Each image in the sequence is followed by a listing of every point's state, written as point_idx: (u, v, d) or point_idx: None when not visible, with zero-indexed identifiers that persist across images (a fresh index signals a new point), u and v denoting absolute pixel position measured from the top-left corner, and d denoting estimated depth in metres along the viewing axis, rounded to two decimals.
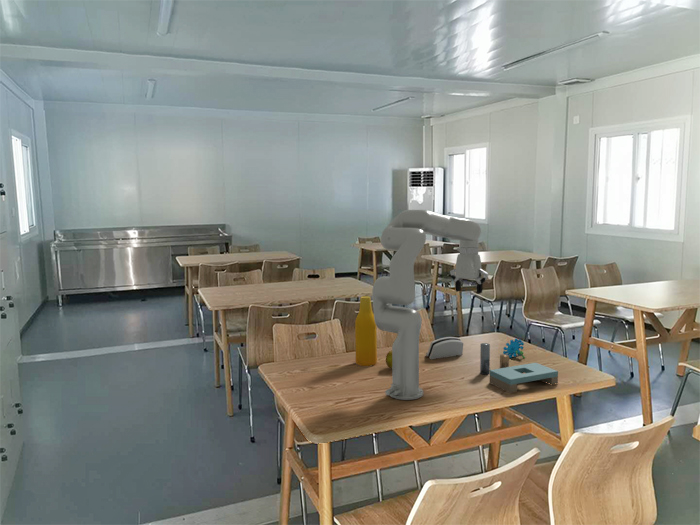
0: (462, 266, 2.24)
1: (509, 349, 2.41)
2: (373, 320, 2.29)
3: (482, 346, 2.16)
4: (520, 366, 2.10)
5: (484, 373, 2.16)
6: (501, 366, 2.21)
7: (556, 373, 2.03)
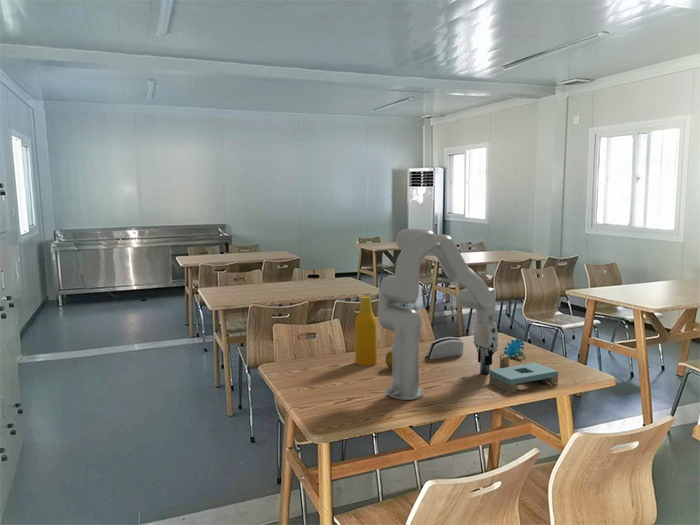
0: None
1: (510, 349, 2.41)
2: (373, 320, 2.29)
3: None
4: (520, 366, 2.10)
5: (484, 373, 2.17)
6: (501, 366, 2.21)
7: (556, 373, 2.03)
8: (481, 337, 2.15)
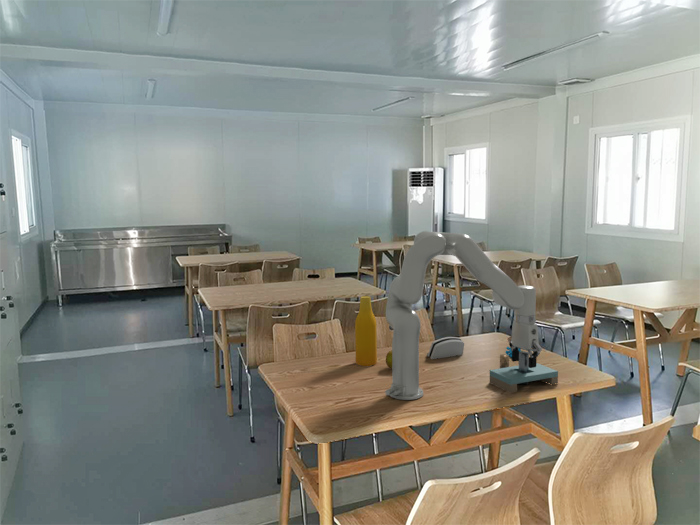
0: None
1: None
2: (373, 320, 2.29)
3: (521, 355, 2.03)
4: None
5: (523, 384, 2.04)
6: (501, 366, 2.21)
7: (556, 373, 2.03)
8: (520, 339, 2.02)
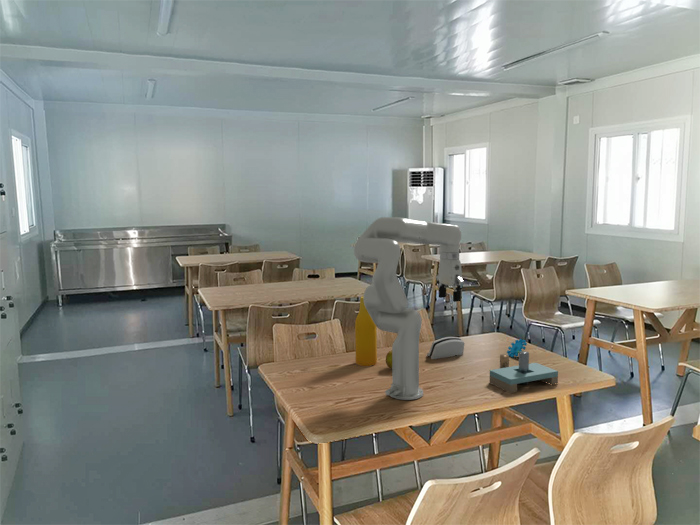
0: None
1: (513, 349, 2.41)
2: None
3: (521, 355, 2.03)
4: None
5: (523, 384, 2.04)
6: (501, 366, 2.21)
7: (556, 373, 2.03)
8: (445, 275, 2.13)
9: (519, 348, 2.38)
